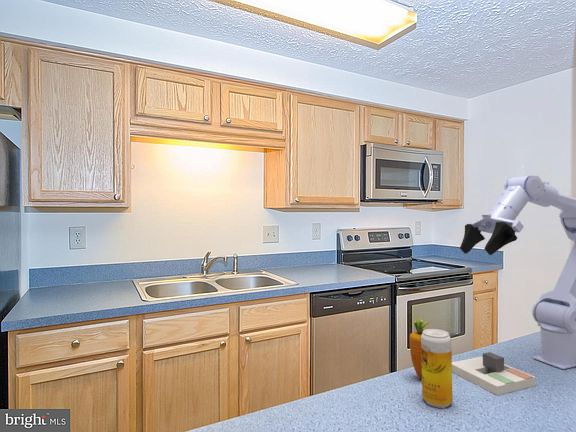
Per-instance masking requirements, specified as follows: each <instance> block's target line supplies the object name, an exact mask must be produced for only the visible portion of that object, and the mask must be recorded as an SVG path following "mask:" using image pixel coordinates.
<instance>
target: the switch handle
mask: <svg viewBox="0 0 576 432" xmlns="http://www.w3.org/2000/svg"><path fill="white" fill-rule="evenodd" d="M482 356H483V366H485V367H487V369H488V374H489V373H494V372H498V371H502V370H504V364H505V357H502V356H500V355H498V354H496V353H493V352H491V351H489V352H483V353H482Z"/></svg>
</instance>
